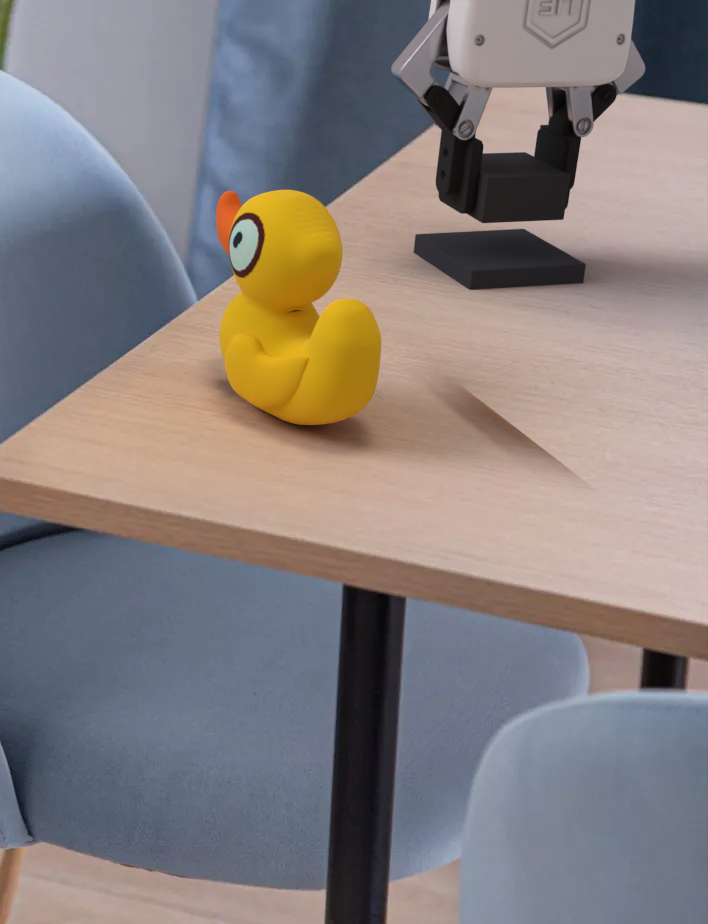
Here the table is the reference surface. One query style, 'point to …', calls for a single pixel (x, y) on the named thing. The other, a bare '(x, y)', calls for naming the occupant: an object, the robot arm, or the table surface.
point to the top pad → (519, 189)
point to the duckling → (293, 312)
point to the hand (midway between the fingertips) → (502, 201)
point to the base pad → (498, 259)
